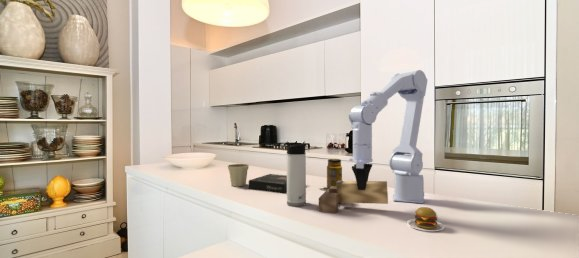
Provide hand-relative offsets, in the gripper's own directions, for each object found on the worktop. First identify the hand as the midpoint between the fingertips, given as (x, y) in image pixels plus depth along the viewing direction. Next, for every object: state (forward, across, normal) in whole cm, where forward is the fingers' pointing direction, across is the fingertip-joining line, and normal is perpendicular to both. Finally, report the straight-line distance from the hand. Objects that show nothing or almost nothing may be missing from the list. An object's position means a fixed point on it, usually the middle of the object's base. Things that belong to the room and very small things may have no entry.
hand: (362, 188), depth 92 cm
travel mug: (+7, +1, -21) cm, 22 cm away
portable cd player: (+7, -21, -37) cm, 43 cm away
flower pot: (+7, -19, -54) cm, 58 cm away
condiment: (+7, -24, -14) cm, 29 cm away
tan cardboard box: (+6, 0, -9) cm, 11 cm away
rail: (+4, 0, 0) cm, 4 cm away
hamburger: (+7, +10, +17) cm, 21 cm away
